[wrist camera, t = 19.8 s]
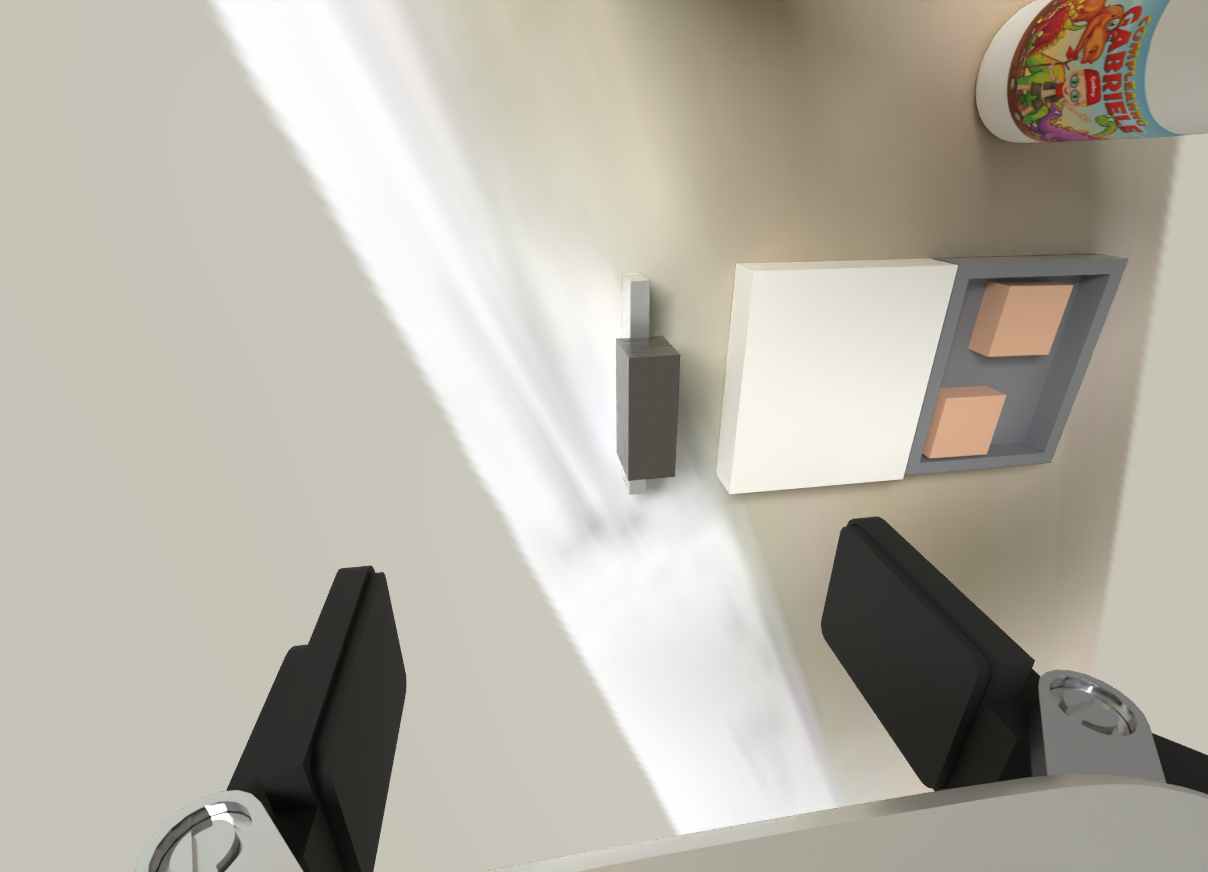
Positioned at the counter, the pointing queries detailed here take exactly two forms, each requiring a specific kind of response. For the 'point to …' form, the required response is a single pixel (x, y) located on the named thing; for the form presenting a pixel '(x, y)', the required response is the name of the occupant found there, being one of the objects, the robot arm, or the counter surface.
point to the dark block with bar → (644, 392)
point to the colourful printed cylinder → (1097, 71)
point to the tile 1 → (963, 421)
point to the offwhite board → (828, 370)
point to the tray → (1018, 358)
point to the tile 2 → (1019, 317)
